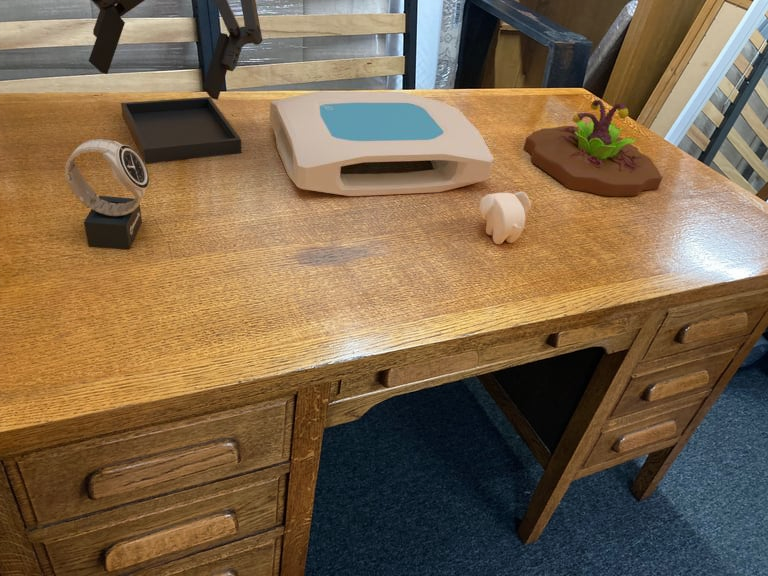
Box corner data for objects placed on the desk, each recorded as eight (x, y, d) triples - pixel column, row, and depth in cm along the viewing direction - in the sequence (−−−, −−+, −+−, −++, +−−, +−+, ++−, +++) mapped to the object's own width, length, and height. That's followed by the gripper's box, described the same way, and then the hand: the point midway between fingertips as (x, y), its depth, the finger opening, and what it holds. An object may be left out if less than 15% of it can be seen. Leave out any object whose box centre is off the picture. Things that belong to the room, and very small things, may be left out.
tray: (122, 116, 93) (120, 102, 92) (210, 109, 99) (209, 96, 98) (145, 163, 83) (143, 149, 82) (241, 152, 89) (241, 139, 88)
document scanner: (488, 190, 90) (499, 151, 86) (297, 200, 81) (299, 156, 77) (434, 127, 105) (441, 91, 102) (268, 129, 96) (269, 89, 92)
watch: (148, 250, 69) (137, 160, 62) (71, 245, 68) (51, 152, 61) (159, 223, 73) (150, 136, 66) (87, 217, 72) (70, 128, 65)
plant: (570, 201, 91) (597, 129, 84) (508, 140, 105) (526, 75, 98) (677, 194, 98) (710, 127, 91) (605, 138, 112) (629, 76, 105)
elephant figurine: (505, 216, 85) (516, 178, 81) (535, 250, 79) (549, 210, 76) (461, 220, 83) (471, 181, 79) (489, 255, 77) (501, 214, 73)
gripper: (318, -47, 74) (267, 119, 72) (127, -85, 77) (71, 73, 75) (305, -94, 67) (248, 89, 64) (94, -134, 70) (31, 39, 67)
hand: (153, 81), depth 69 cm, fingers open, 13 cm apart
